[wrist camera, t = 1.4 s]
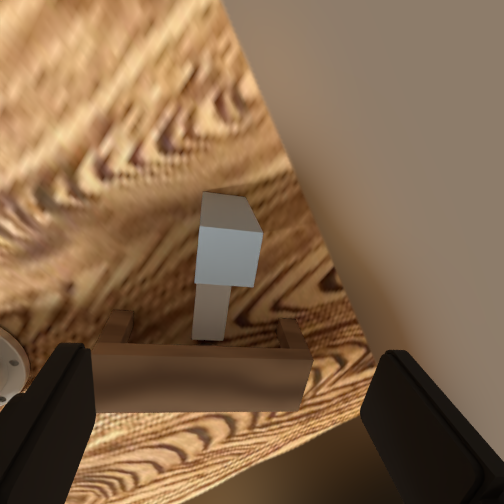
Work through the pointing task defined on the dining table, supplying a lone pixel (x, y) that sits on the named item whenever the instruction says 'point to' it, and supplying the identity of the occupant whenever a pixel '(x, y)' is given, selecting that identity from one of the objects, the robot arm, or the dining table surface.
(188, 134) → the dining table surface
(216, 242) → the grey block
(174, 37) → the dining table surface
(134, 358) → the stand
